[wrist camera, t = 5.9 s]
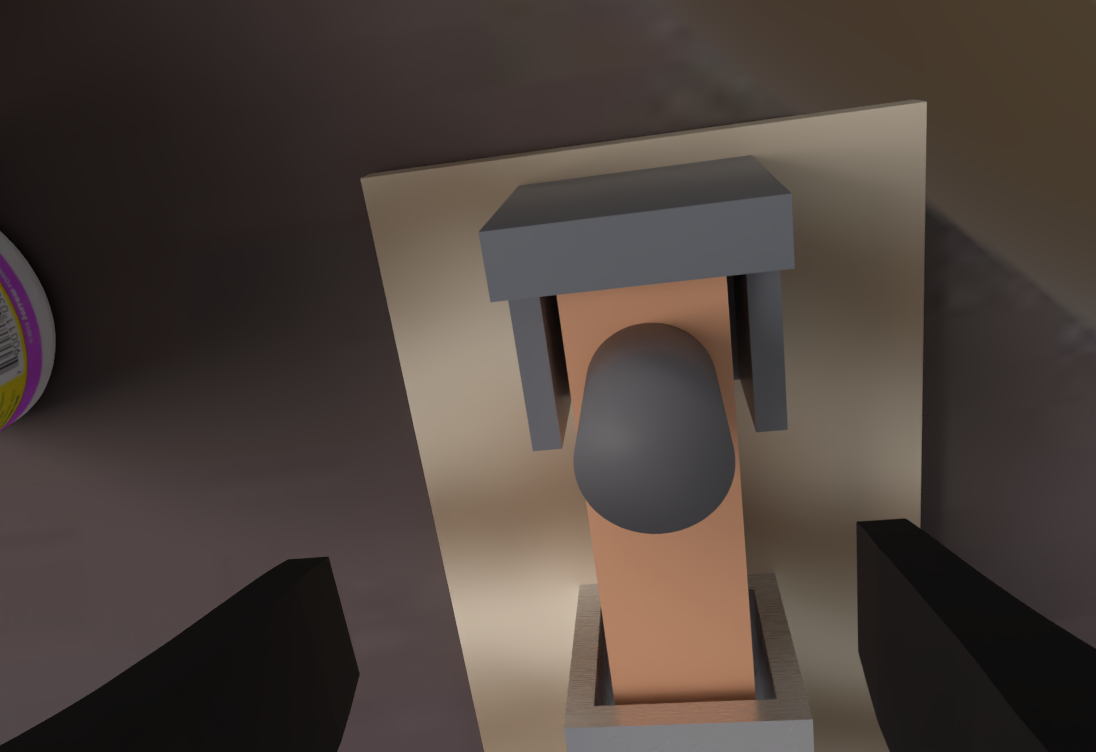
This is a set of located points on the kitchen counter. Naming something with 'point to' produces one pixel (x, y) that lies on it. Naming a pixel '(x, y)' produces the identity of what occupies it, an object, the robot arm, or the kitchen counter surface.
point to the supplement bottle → (22, 335)
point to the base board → (765, 457)
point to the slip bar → (662, 487)
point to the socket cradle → (644, 267)
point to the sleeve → (695, 727)
